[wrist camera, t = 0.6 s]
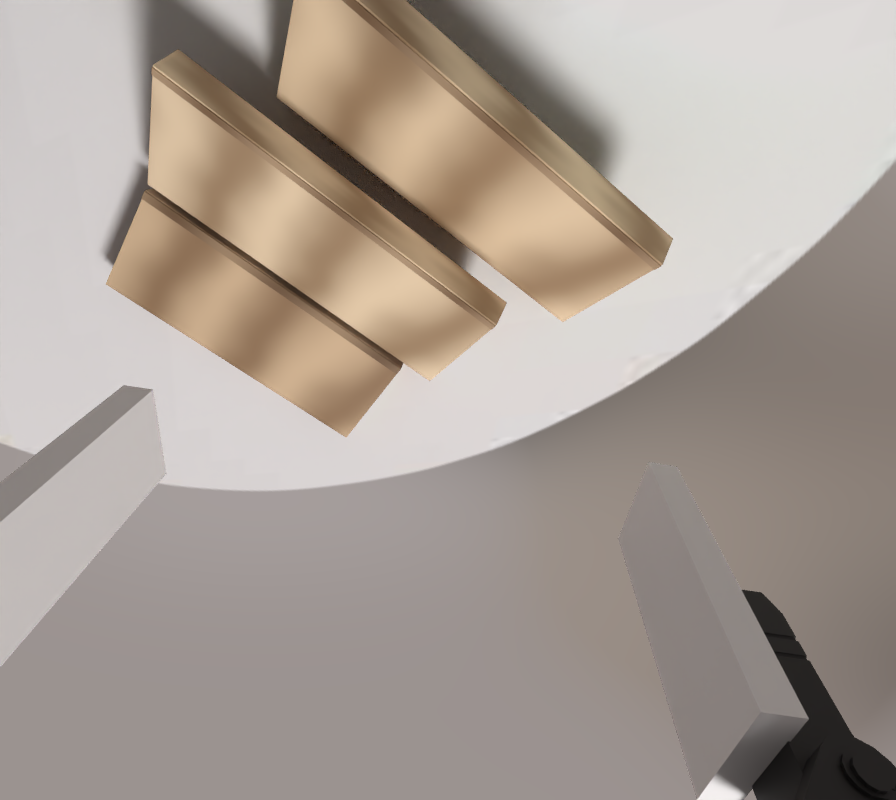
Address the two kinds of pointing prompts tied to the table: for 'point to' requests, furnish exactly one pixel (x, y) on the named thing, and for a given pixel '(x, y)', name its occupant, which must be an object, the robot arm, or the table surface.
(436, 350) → the plank
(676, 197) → the table surface
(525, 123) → the plank
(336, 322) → the laid board
